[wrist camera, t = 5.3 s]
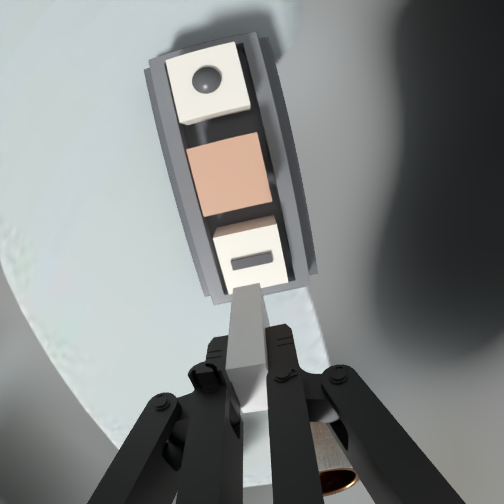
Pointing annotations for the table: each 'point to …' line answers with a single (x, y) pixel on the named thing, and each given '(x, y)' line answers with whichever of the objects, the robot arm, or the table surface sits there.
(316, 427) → the planter
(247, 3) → the table surface
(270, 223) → the bar key
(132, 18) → the table surface
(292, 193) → the keypad
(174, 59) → the dot key
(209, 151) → the blank key
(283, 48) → the table surface
